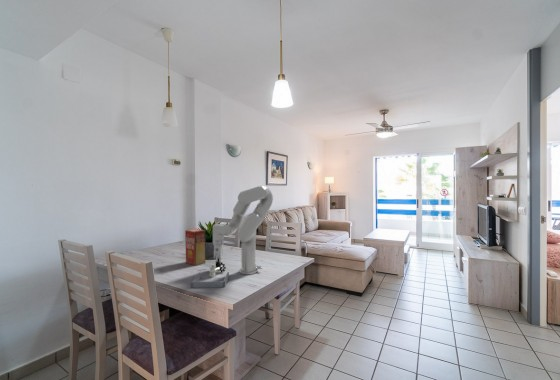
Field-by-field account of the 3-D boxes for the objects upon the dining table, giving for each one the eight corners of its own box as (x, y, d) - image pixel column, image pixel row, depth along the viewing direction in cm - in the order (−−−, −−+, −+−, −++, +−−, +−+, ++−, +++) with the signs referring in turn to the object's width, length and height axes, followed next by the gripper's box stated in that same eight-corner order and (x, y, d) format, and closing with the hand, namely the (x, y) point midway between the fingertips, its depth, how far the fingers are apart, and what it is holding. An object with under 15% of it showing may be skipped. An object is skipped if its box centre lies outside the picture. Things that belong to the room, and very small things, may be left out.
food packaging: (184, 262, 197) (184, 230, 197) (195, 260, 204) (195, 228, 204) (195, 266, 189) (195, 231, 188) (206, 263, 196) (205, 230, 196)
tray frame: (229, 276, 166) (229, 272, 166) (224, 287, 149) (224, 281, 149) (199, 277, 165) (199, 272, 165) (191, 287, 148) (191, 282, 148)
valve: (214, 278, 163) (226, 272, 174) (214, 267, 163) (226, 262, 174) (206, 276, 166) (218, 271, 177) (206, 266, 166) (218, 261, 177)
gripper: (221, 244, 172) (221, 272, 172) (225, 239, 186) (225, 265, 187) (210, 244, 171) (210, 272, 171) (215, 239, 186) (215, 265, 186)
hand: (218, 268), depth 179 cm, fingers closed
